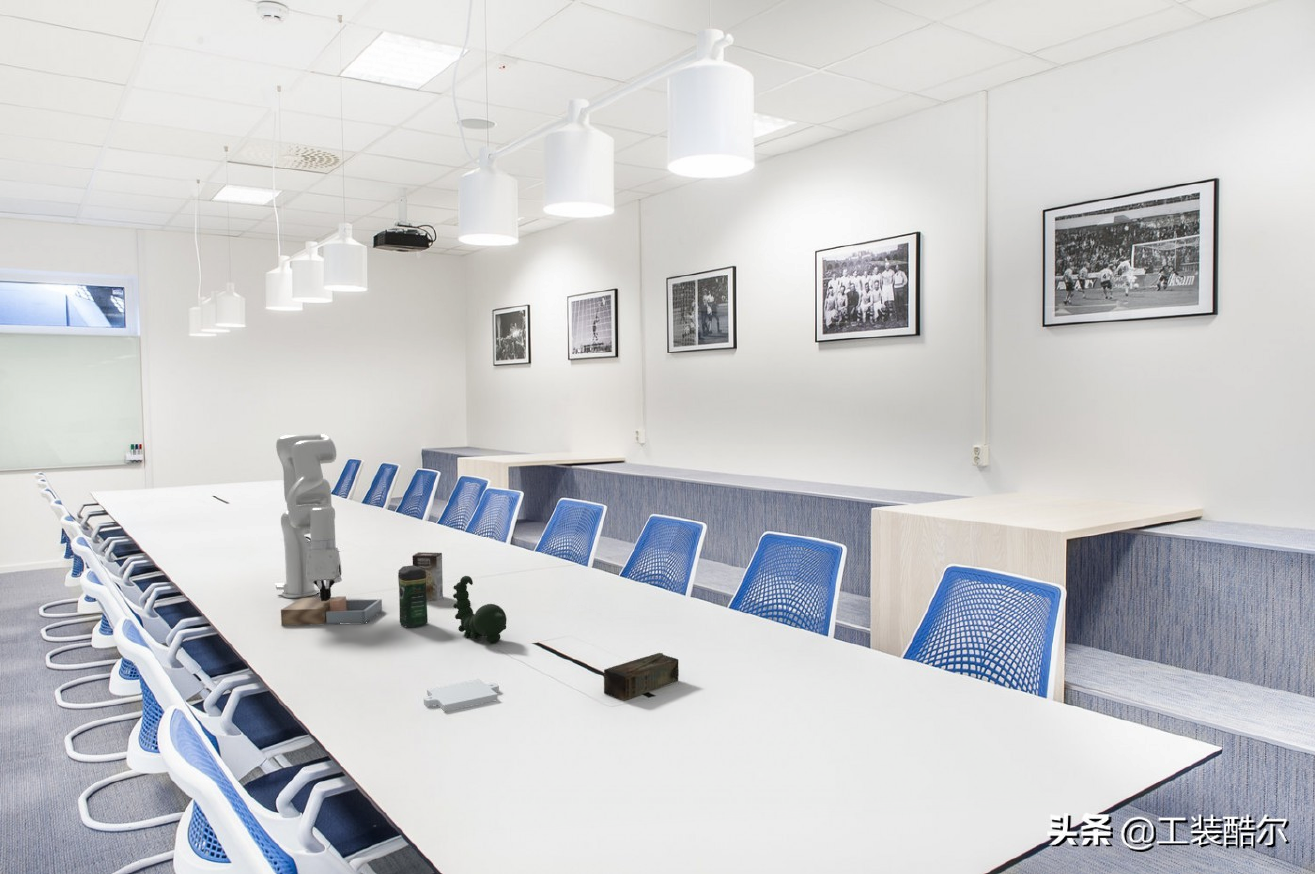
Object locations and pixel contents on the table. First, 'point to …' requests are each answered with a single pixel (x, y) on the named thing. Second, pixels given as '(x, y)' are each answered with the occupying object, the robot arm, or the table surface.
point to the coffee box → (431, 573)
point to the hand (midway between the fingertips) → (325, 599)
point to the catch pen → (355, 612)
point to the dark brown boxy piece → (640, 676)
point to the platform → (306, 612)
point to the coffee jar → (412, 596)
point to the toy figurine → (478, 615)
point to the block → (338, 604)
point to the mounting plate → (461, 694)
